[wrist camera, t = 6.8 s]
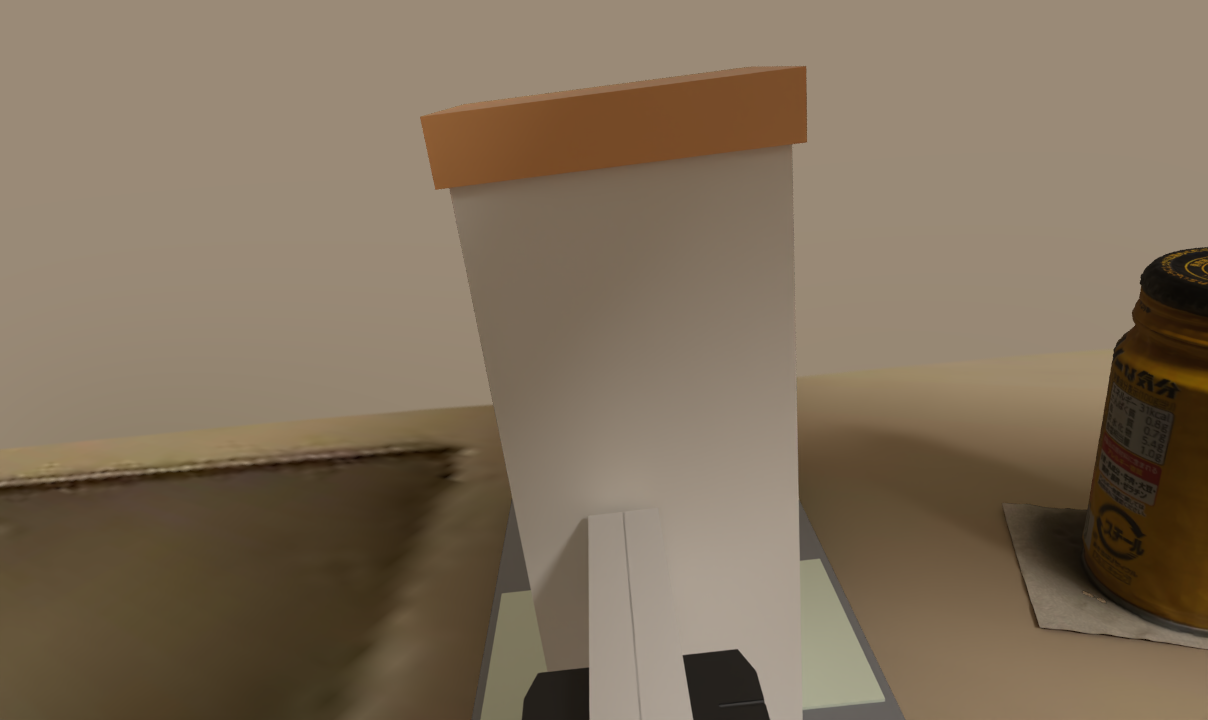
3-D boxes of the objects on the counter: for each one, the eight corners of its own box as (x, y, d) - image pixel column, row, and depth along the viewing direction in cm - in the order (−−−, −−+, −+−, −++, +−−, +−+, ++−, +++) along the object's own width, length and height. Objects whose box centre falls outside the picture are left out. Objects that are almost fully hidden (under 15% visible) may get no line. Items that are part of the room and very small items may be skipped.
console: (1318, 1765, 8) (1391, 1721, 7) (342, 1819, 9) (273, 1787, 8) (761, 466, 36) (759, 415, 35) (530, 492, 37) (521, 443, 35)
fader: (813, 760, 18) (806, 66, 11) (561, 786, 18) (420, 116, 12) (771, 630, 22) (750, 66, 16) (566, 652, 22) (464, 104, 16)
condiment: (1353, 669, 22) (1492, 301, 17) (1038, 631, 25) (1087, 305, 20) (1240, 526, 28) (1321, 229, 24) (1000, 509, 31) (1031, 240, 26)
